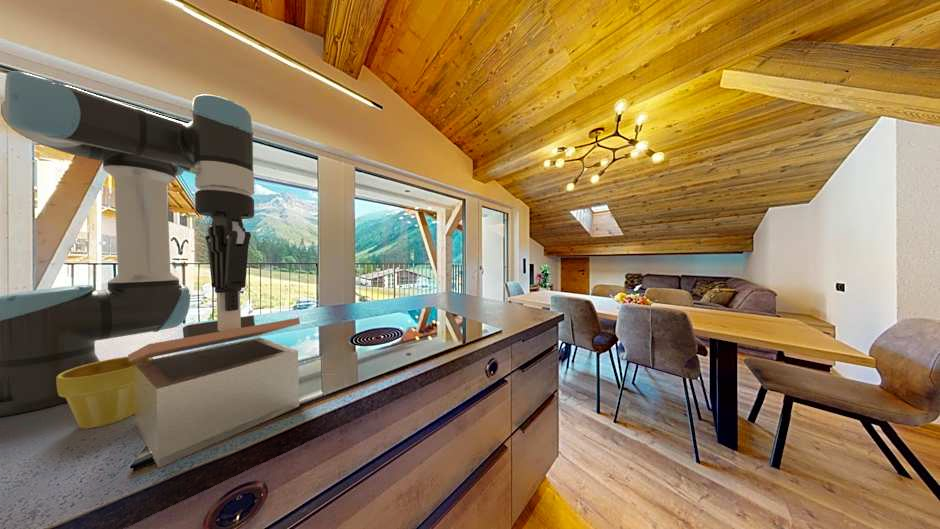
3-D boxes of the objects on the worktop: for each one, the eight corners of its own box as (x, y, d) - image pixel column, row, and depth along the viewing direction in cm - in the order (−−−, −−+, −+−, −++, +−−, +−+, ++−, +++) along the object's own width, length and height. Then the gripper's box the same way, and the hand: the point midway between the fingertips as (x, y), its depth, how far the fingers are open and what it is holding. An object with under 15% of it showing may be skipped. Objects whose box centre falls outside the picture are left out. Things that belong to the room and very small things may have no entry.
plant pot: (83, 440, 42) (81, 379, 42) (41, 432, 44) (39, 375, 44) (168, 405, 52) (167, 356, 52) (131, 400, 55) (129, 353, 54)
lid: (128, 361, 46) (127, 341, 46) (260, 335, 62) (258, 319, 62) (149, 352, 36) (147, 326, 36) (300, 323, 52) (297, 305, 52)
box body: (135, 426, 46) (133, 363, 46) (260, 384, 61) (259, 337, 61) (158, 468, 36) (156, 389, 36) (299, 406, 52) (298, 350, 52)
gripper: (184, 194, 46) (188, 329, 46) (208, 181, 39) (212, 340, 39) (239, 202, 52) (242, 320, 53) (268, 192, 46) (271, 328, 46)
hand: (229, 328), depth 46 cm, fingers closed
